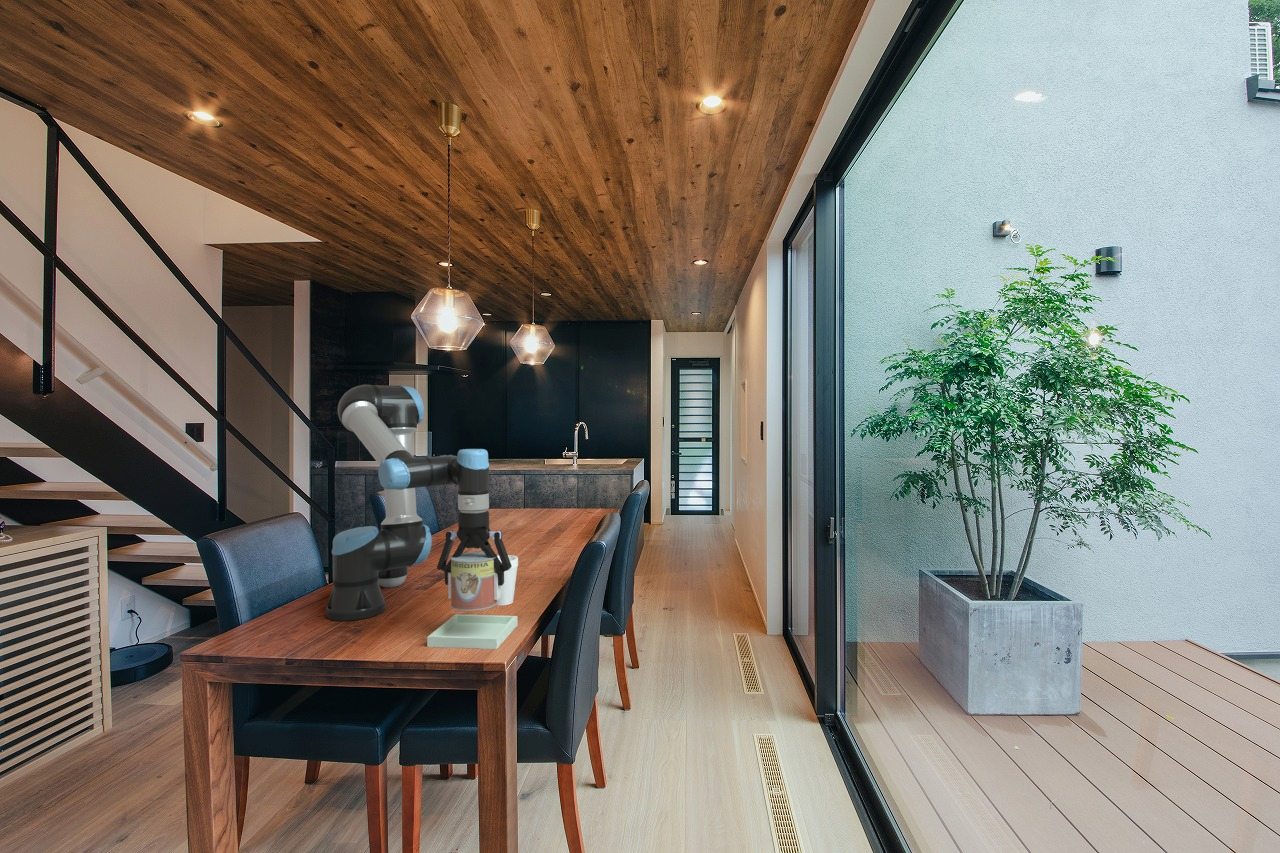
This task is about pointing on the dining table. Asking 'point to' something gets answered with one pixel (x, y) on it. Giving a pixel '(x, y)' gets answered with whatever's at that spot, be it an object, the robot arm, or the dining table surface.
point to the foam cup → (508, 582)
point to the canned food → (472, 582)
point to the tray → (473, 631)
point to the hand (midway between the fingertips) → (474, 597)
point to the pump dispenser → (392, 577)
